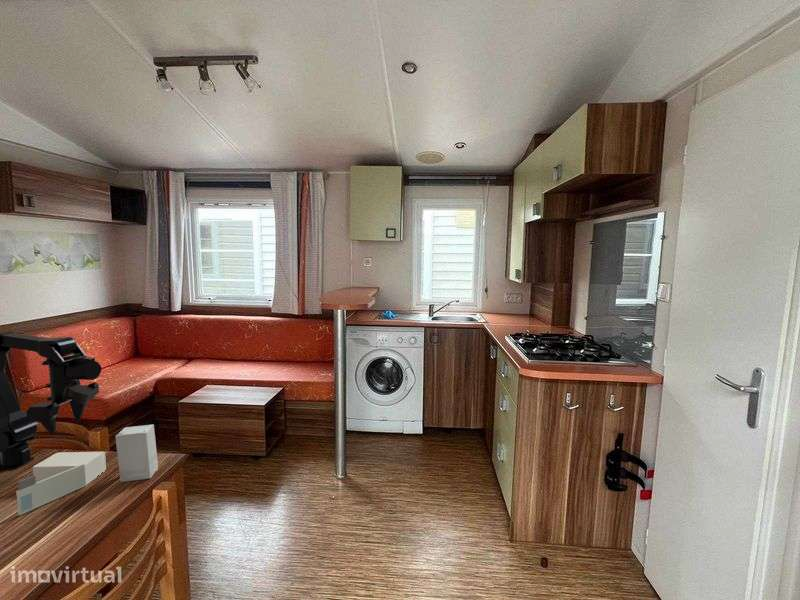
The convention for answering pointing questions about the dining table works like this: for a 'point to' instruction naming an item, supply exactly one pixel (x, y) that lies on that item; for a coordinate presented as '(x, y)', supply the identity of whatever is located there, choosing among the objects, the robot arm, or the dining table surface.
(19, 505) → the pale grey panel
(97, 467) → the carton
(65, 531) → the dining table surface
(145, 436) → the skincare box
